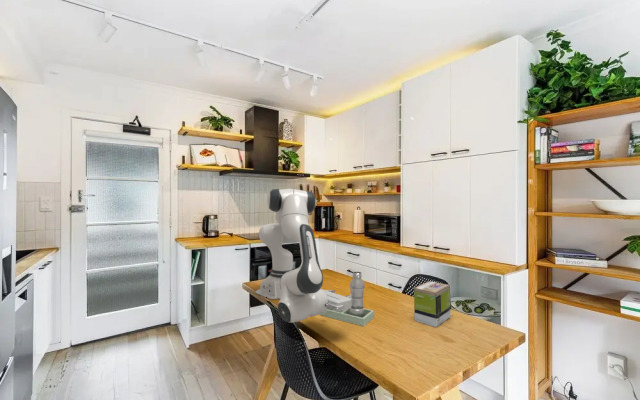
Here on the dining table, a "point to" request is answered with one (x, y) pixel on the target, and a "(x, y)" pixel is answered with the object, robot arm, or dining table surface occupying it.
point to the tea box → (432, 303)
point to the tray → (350, 316)
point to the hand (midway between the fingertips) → (341, 294)
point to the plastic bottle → (357, 295)
